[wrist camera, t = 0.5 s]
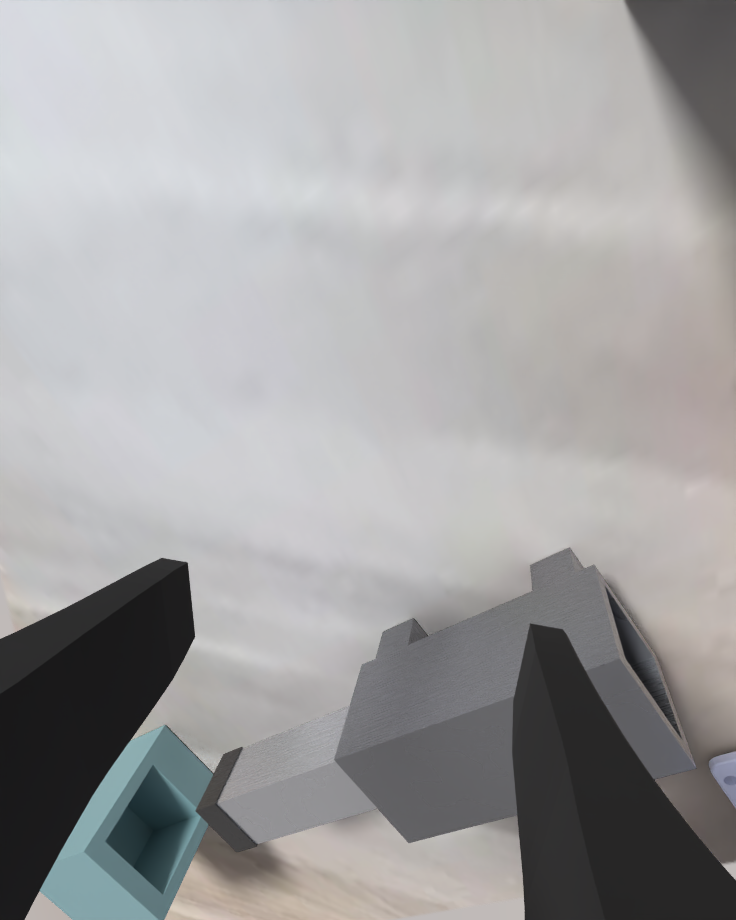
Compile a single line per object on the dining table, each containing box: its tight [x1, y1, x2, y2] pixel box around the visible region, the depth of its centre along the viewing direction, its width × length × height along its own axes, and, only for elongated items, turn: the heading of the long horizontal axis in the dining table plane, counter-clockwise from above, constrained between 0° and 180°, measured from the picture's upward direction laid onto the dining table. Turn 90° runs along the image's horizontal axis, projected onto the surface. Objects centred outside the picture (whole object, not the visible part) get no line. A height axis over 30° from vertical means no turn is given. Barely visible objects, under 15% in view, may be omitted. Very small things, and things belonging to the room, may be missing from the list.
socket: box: [40, 725, 213, 920], centre depth 28 cm, size 5×5×6 cm
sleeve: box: [334, 548, 697, 843], centre depth 20 cm, size 4×10×6 cm, turn 126°
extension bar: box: [195, 706, 377, 852], centre depth 21 cm, size 3×17×3 cm, turn 126°
